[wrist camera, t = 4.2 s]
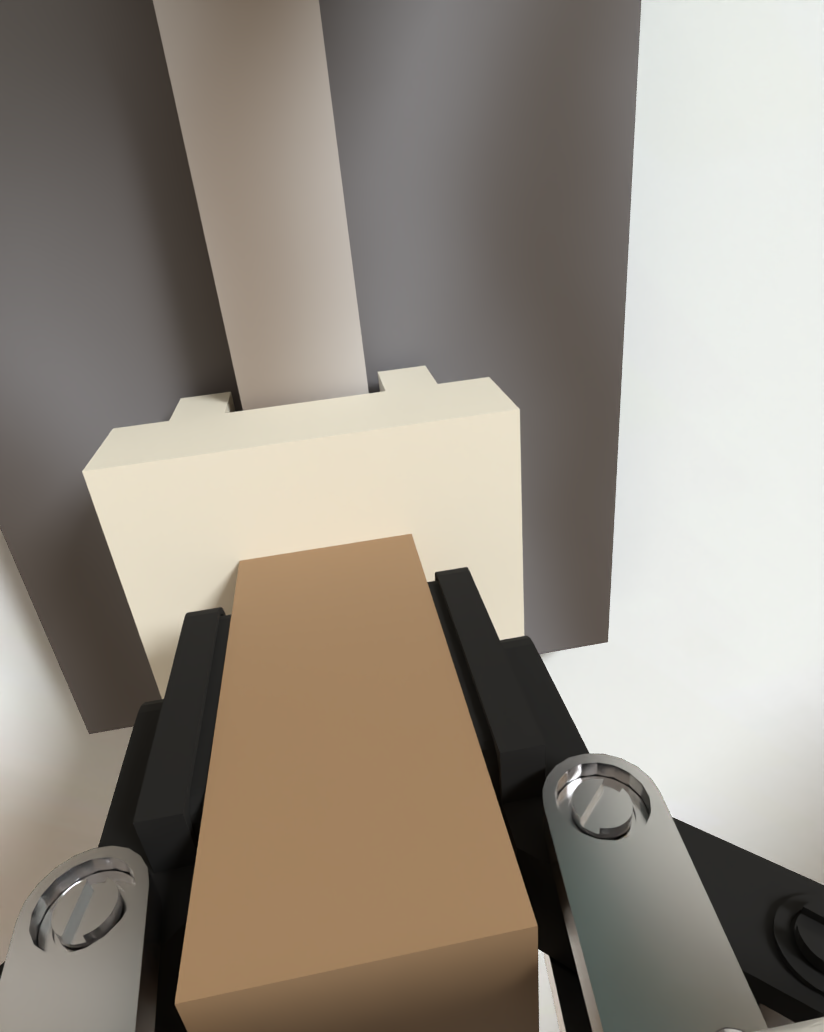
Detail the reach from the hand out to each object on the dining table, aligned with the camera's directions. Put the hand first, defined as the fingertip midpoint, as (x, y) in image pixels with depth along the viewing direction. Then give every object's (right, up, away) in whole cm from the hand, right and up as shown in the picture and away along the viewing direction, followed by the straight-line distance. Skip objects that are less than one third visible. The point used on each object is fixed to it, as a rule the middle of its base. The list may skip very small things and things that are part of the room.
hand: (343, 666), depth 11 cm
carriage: (-1, +2, +4) cm, 5 cm away
